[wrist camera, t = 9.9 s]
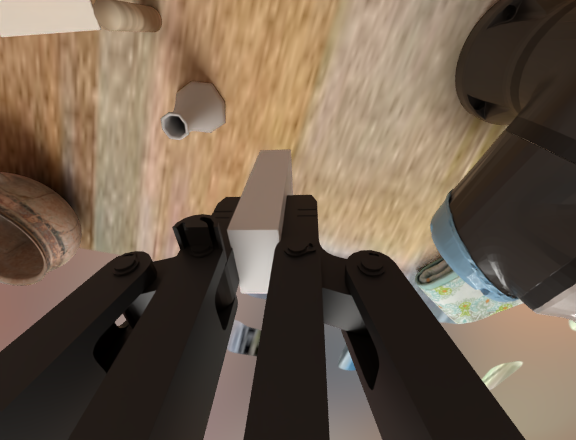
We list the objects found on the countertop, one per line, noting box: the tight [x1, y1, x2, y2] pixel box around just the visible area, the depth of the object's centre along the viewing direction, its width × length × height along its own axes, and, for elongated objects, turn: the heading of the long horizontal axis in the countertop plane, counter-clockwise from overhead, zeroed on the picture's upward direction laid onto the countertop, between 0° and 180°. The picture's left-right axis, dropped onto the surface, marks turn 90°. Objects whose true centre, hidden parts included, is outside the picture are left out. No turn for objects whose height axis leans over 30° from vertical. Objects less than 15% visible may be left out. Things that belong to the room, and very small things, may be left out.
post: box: [93, 0, 162, 32], centre depth 30 cm, size 3×3×9 cm
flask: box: [161, 81, 226, 140], centre depth 35 cm, size 7×7×10 cm
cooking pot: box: [0, 172, 82, 286], centre depth 46 cm, size 25×19×12 cm
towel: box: [415, 257, 523, 324], centre depth 52 cm, size 18×21×5 cm
